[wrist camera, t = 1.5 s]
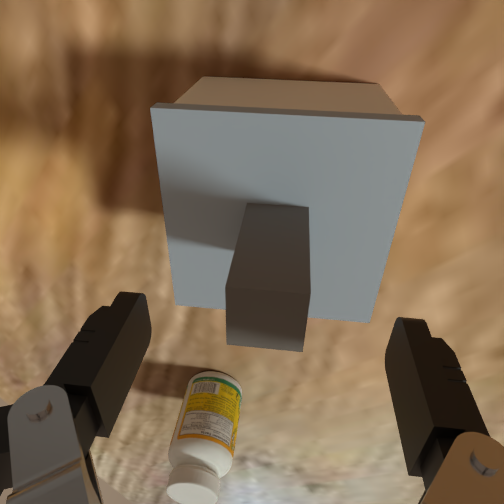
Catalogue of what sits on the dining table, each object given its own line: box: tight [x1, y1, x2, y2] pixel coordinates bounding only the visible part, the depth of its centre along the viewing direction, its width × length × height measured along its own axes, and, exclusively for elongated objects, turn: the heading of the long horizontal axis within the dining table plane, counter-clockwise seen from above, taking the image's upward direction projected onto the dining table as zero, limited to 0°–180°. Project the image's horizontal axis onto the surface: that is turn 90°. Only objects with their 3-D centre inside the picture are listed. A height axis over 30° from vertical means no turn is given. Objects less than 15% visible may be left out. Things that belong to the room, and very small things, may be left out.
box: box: [174, 76, 402, 115], centre depth 20 cm, size 9×9×7 cm
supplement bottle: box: [166, 371, 242, 504], centre depth 33 cm, size 5×5×10 cm
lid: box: [150, 102, 425, 352], centre depth 15 cm, size 10×10×6 cm
